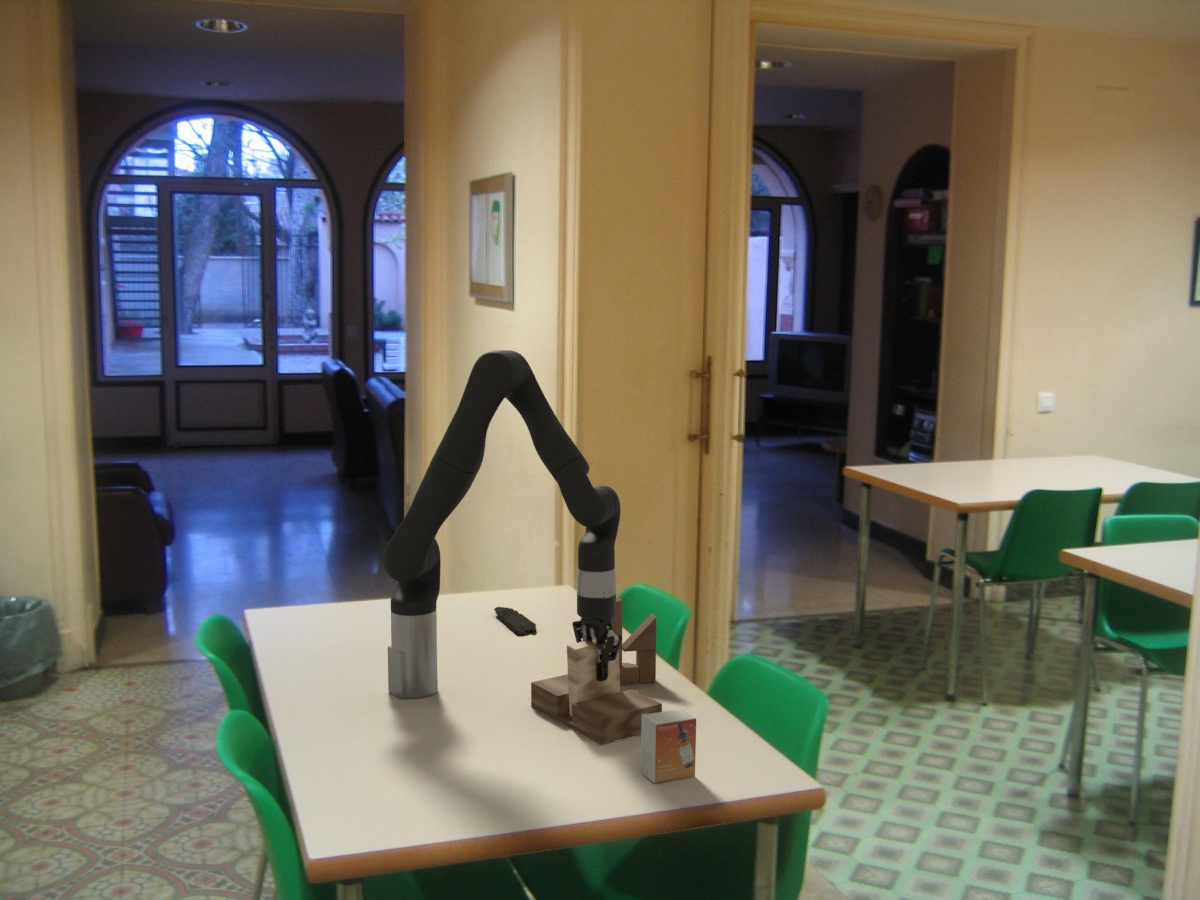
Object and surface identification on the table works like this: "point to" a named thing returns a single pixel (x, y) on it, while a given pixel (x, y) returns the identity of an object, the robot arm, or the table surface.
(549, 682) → the slotted plate
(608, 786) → the table surface
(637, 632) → the wooden toy block structure
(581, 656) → the maple slat
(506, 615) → the wood
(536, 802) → the table surface
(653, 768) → the small box
